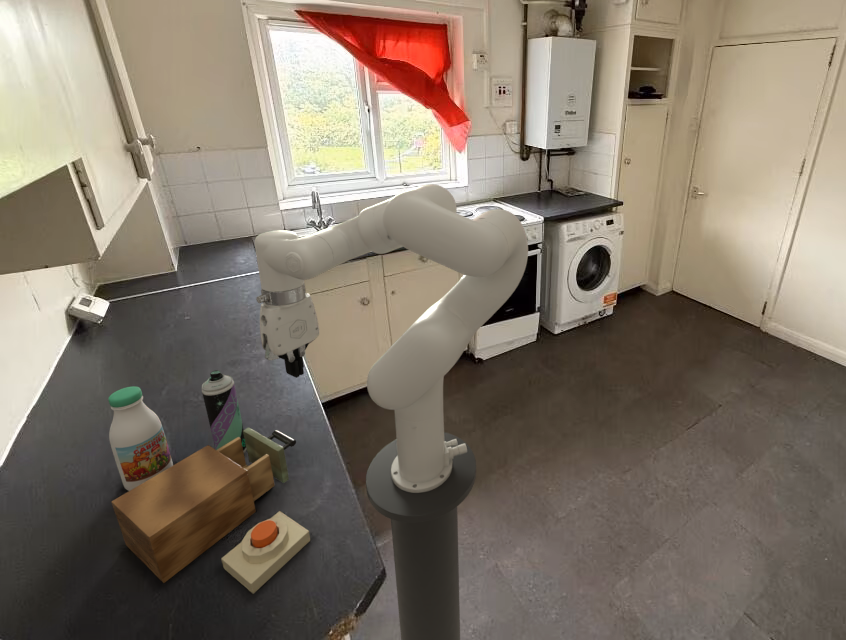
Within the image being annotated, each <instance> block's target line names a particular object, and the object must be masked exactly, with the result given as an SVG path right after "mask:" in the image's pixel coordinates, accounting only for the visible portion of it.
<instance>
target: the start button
mask: <svg viewBox="0 0 846 640" xmlns="http://www.w3.org/2000/svg"><path fill="white" fill-rule="evenodd" d="M266 520H267V521H265V520H263V521H264V522H263V521H260V522H261V523H260V522H258V523H259V524H258V523H257V524H258V525H257V524H256V525H257V526H256V527H255V528H254V529H253V530H252V532H251V539H252V543H253V546H254V547H256V548H263V547H266V546H268V545H270V544H271V543H272V542H273V541H274V540H275V539H276V537H277V534H278V532H277V527H276V523H275V522H274V521H271V520H268V519H266Z"/></svg>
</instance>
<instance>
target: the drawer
mask: <svg viewBox="0 0 846 640" xmlns="http://www.w3.org/2000/svg"><path fill="white" fill-rule="evenodd" d="M243 433H244V438H245V443H246V448H247V450H246V452H247V457H248V462H249V463H251V464H250V465H248V464H247V463H246V456H245V453H244V452H243V447H242V443H241V438H239V437H237V438H236V439H234V440H232V441H231V442H229V443H227V444H226V445H224V446H222V447H221V448H219V449H217V451H218V452H220V453H221V454H223V455H224V456H226V457H227V458H229V459H230V460H232V461H233V462H235V463H237V464H238V465H240V466H241V467H243V468H244V469H246V470H247V472H248V476H249V481H250V486H251V491H252V495H253V500H254V502H255V501H257V500H258V499H259V498H260V497H261V496H263V495H264V494H266V492H268V491H270V490H271V489H272V488H274V487H275V481H274V478H275V480H277V481H279V482H281V483H282V484H285V483H286V482H288V481H289V479H290V477H289V476H290V475H289V471H288V465H287V461H286V453H285V450H286V449H287V450H288V448H289V447H291V448H292V447H295V446H296V444H297V440H296V439H294V438H292V437H291V436H289V435H287V434H285V433H284V432H281V431H280V430H278V429H276V430H273V432H272V433H271V435H268V436H267V437H266V436H264V435H263V434H261V433H259V432H258V431H256V430H254V429H252V428H250V427H246V428H245V429H244V430H243ZM273 439H276V440H278V441H280V442H282V443H283V444H284V445H280V444H278V443H277V442H274V441H273Z"/></svg>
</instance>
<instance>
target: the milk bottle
mask: <svg viewBox="0 0 846 640" xmlns="http://www.w3.org/2000/svg"><path fill="white" fill-rule="evenodd" d="M107 399H108V400H107V401H108V404H109V406H110V409H111V410H112V411H113V417H112V420H111V424H110V427H109V430H108V431H109V432H108V439H109V444H110V447H111V451H112V454H113V458H114V460H115V465H116V467H117V471H118V473H119V476H120V480H121V482H122V485H123V487H124V489H125V490H126V491H127V492H129V491H130V490H132V489H134V488H135V487H137V486H139V485H141V484H142V483H144V482H146V481H147V480H149V479H151V478H153V477H154V476H156V475H158V474H159V473H161V472H163V471H165V470H166V469H168V468H170V467H171V466H173V465H174V463H173V459H172V456H171V451H170V448H169V445H168V441H167V437H166V434H165V431H164V427H163V425H162V422H161V420H160V418H159V416H158V414H156V412H154V411H153V410H152V409H151V408H149V407H148V406H147V405H146V403H144V401H143V400H144V396H143V392H142V389H141V387H139V386H133V385H132V386H127V387H123V388H121V389H118V390H116V391H114V392H112V394H110V395H109V396H108V398H107Z"/></svg>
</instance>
